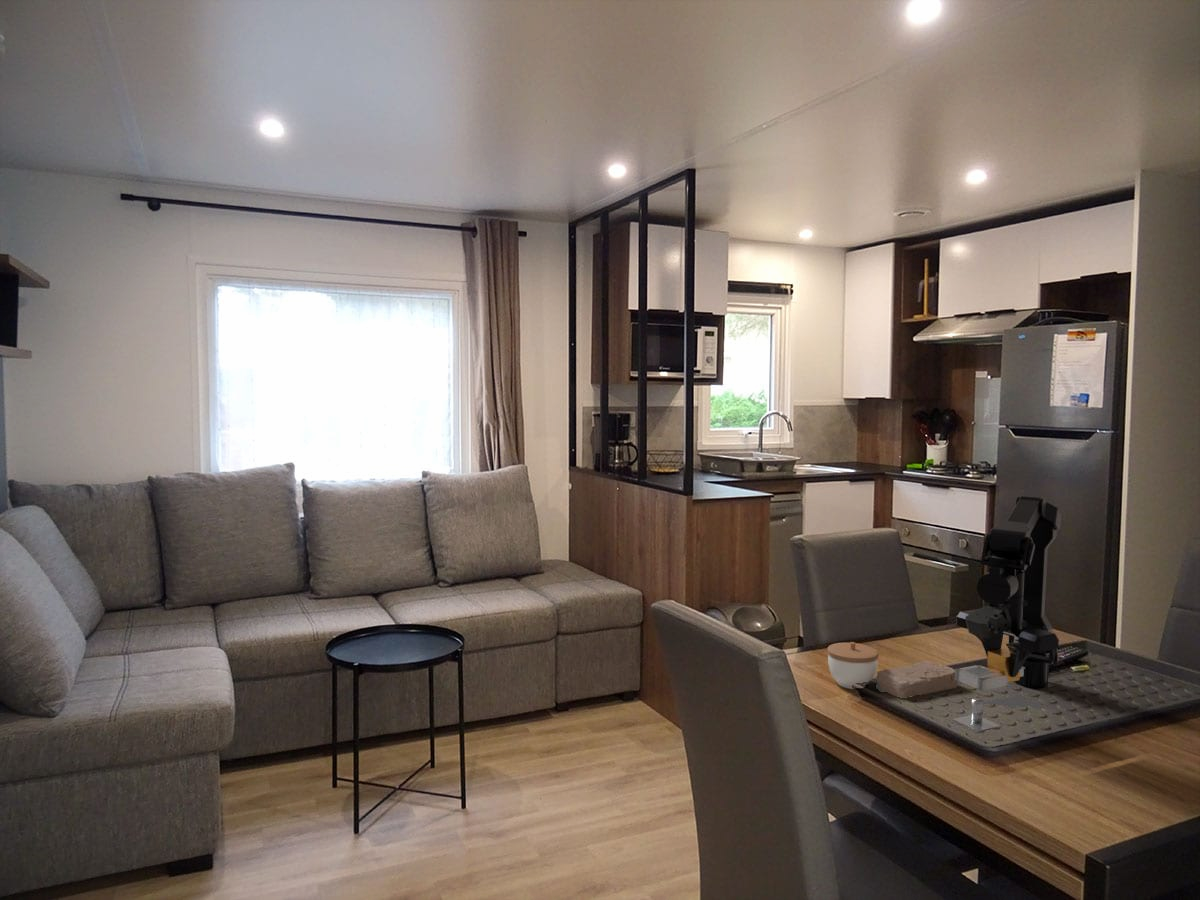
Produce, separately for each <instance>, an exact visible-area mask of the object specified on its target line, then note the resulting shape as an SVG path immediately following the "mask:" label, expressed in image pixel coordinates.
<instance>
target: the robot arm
mask: <svg viewBox="0 0 1200 900" xmlns="http://www.w3.org/2000/svg"><path fill="white" fill-rule="evenodd" d="M1061 525H1062V515H1061V512H1060V509H1059V508H1058V507H1057V506H1055V505H1053V504H1051V503H1049V502H1048V501H1046V498H1044V497H1041V496H1036V495H1035V496H1034V495H1020V496H1017V497H1016V500H1015V503H1014V507H1013V508H1012V511H1011V513H1010V514H1009V516H1008V517H1007V519H1006V521H1005V522H1002V523H997V524H996V525H994V526H993V527H992V528H991V529H990V531H989V532H987V533H986V536H985V540H984V545H983V548H982V553H981V558H980V561H979V562H980V563H979V564H980V566H981V565H982V566H988V570H987V571H988V572H987V573H985V574H984V575H982V576H981V577H980V578H979V579H978V582H977V584H976V591H977V594H978V596H979V597H980V599H982V600H983V606H982V607H981V608H977V609H971V610H969V609H968V610H963V611H959V613H958V614H957V615H956V622H955V623H956V626H957V627H960V628H963V629H966V630H968V633H969V634H971V635H973V636H975V637H976V638H977V639H978V640H979V641H980V642H981V644H982V647H983V649H984V653H985V655H986V659H988V651H992V650H997V649H1002V645H1003V638H1004V635H1006V636H1008V643H1006V644H1005V645H1006V647H1007V650H1008V651H1010V676H1011V677H1016V675H1017V674H1018V672H1019V670H1020V669H1021V667H1022V668H1024V676H1022V677H1020V679H1019V680H1018V681H1013V682H1012V683H1015V684H1017V685H1020V686H1021V687H1024V688H1025V687H1026V688H1028V689H1030V690H1040V689H1041V690H1042V689H1046V688H1052V687H1055V684H1053V683H1049V671H1050V670H1049V669H1050V667H1049V665H1053V664H1057V663H1059V643H1060V641H1059V637H1058V636H1057V634H1056V633H1054V632H1053V626H1052V624H1051V623H1050V621H1049V619H1048V617H1047V616H1046V614H1045V608H1046V591H1047V590H1046V589H1047V574H1048V573H1047V572H1048V571H1047V570H1048V568H1047V567H1048V554H1049V551H1048V549H1049V547H1050V545H1052V544H1053V541H1054V540H1055V539H1056V538H1057V537H1058V531H1060V530H1061V527H1062V526H1061Z"/></svg>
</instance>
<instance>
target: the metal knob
mask: <svg viewBox="0 0 1200 900" xmlns="http://www.w3.org/2000/svg"><path fill="white" fill-rule="evenodd" d="M970 701H971V704H970V705H971V715H968V716H963V717H958V718H954V719H952V721H953V722H956V723H958V724H960V725H962V726H964V727H967V728H969V729H971V730H974V731H976V732H981V731H986V730H990V729H996V728H1001V726H1000V725H998V724H996V723H994V722H992V721H990V720H987V719H985V718H983V717H982V715H983V702H984V700H983V699H981V698H978V697H972V698H971V700H970Z"/></svg>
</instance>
